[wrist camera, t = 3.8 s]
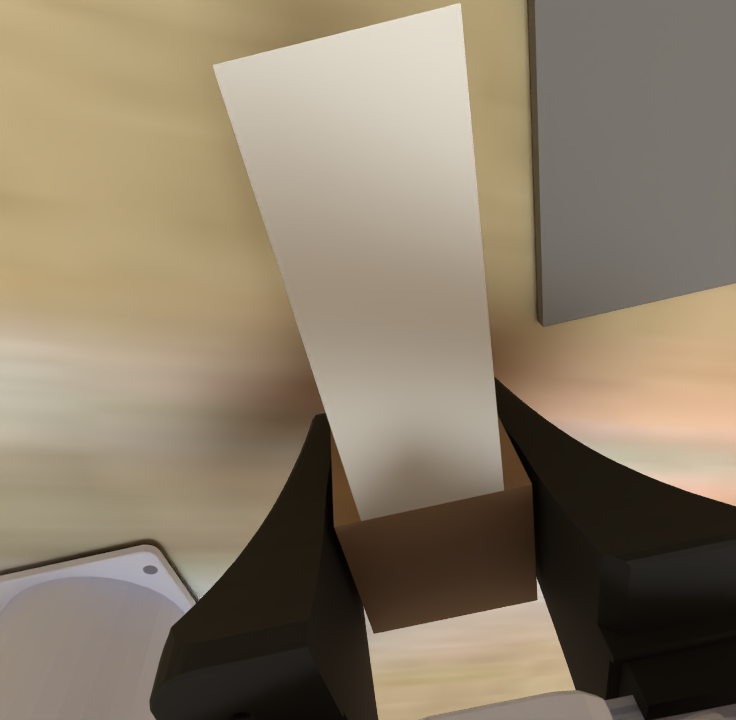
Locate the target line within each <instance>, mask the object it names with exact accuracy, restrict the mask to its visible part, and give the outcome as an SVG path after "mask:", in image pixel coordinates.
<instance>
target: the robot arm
mask: <svg viewBox="0 0 736 720" xmlns="http://www.w3.org/2000/svg"><path fill="white" fill-rule="evenodd" d="M494 382H495V393H496V405H497V415H498V417H499V419H500V421H501V423H502V425H503V427H504V429H505V431H506V433H507V435H508V437H509V439H510V441H511V443H512V445H513V447H514V449H515V451H516V453H517V455H518V457H519V459H520V461H521V463H522V465H523V467H524V469H525V471H526V473H527V475H528V477H529V479H530V481H531V483H532V494H533V516H534V538H535V559H536V577H537V580H538V582H539V585H540V588H541V591H542V593H543V596H544V599H545V602H546V605H547V607H548V610H549V613H550V616H551V619H552V621H553V624H554V627H555V630H556V633H557V636H558V639H559V642H560V644H561V647H562V650H563V653H564V656H565V659H566V662H567V665H568V668H569V671H570V674H571V677H572V680H573V683H574V686H575V689H576V690H573V691H559V692H550V693H545V694H540V695H535V696H530V697H524V698H519V699H514V700H509V701H504V702H499V703H494V704H489V705H484V706H479V707H474V708H469V709H464V710H459V711H454V712H449V713H444V714H439V715H434V716H429V717H426V718H423V719H420V720H736V506H733V505H729V504H726V503H723V502H719V501H716V500H713V499H710V498H706V497H703V496H700V495H697V494H693V493H690V492H687V491H685V490H682V489H679V488H677V487H674V486H671V485H668V484H666V483H663V482H660V481H658V480H655V479H653V478H651V477H648V476H646V475H643V474H641V473H639V472H637V471H634V470H632V469H630V468H628V467H626V466H624V465H621V464H619V463H617V462H615V461H613V460H611V459H609V458H607V457H605V456H603V455H601V454H600V453H598V452H596V451H594V450H592V449H591V448H589V447H587V446H585V445H584V444H582V443H580V442H579V441H577V440H575V439H574V438H572V437H571V436H569V435H568V434H566V433H565V432H563V431H562V430H560V429H559V428H557V427H556V426H554V425H553V424H552V423H550V422H549V421H547V420H546V419H545V418H543V417H542V416H541V415H540V414H538V413H537V412H536V411H534V410H533V409H532V408H530V407H529V406H528V405H527V404H525V403H524V402H523V401H522V400H520V399H519V398H518V397H517V396H516V395H514V394H513V393H512V392H511V391H510V390H509V389H508V388H506V387H505V386H504V385H503V384H502V383H501V382H500V381H499V380H498V379H496V378H495V377H494ZM0 720H378V715H377V708H376V701H375V693H374V686H373V678H372V671H371V664H370V656H369V648H368V640H367V632H366V624H365V616H364V607H363V603H362V600H361V598H360V595H359V592H358V590H357V587H356V584H355V582H354V579H353V576H352V574H351V571H350V568H349V566H348V563H347V560H346V558H345V555H344V552H343V550H342V547H341V544H340V542H339V539H338V536H337V534H336V531H335V528H334V514H333V487H332V461H331V434H330V424H329V421H328V418H327V415H326V413H324V414H319V415H316V416H315V417H314V418H313V420H312V423H311V426H310V429H309V432H308V435H307V437H306V440H305V443H304V445H303V447H302V450H301V452H300V455H299V457H298V459H297V461H296V463H295V466H294V468H293V470H292V472H291V474H290V476H289V478H288V480H287V482H286V484H285V486H284V488H283V490H282V492H281V493H280V495H279V497H278V499H277V501H276V503H275V504H274V506H273V508H272V509H271V511H270V513H269V514H268V516H267V517H266V519H265V520H264V522H263V524H262V525H261V527H260V528H259V530H258V531H257V532H256V534H255V535H254V536H253V538H252V539H251V541H250V542H249V543H248V545H247V546H246V548H245V549H244V550H243V552H242V553H241V554H240V555H239V557H238V558H237V559H236V560H235V562H234V563H233V564H232V565H231V566H230V567H229V569H228V570H227V571H226V572H225V573H224V574H223V576H222V577H221V578H220V579H219V580H218V581H217V582H216V583H215V584H214V586H213V587H212V588H211V589H210V590H209V591H208V592H207V593H206V594H205V595H204V596H203V597H202V598H201V599H200V600H199V601H198V602H197V603H196V602H195V601H194V599H193V598H192V596H191V595H190V593H189V592H188V591H187V589H186V588H185V586H184V585H183V583H182V582H181V580H180V579H179V578H178V576H177V575H176V573H175V572H174V570H173V569H172V567H171V566H170V565H169V563H168V562H167V560H166V559H165V557H164V556H163V554H162V553H161V552H160V550H159V549H158V548H156V547H154V546H152V545H139V546H135V547H130V548H126V549H121V550H116V551H112V552H107V553H103V554H98V555H93V556H89V557H84V558H80V559H75V560H70V561H66V562H61V563H57V564H52V565H47V566H43V567H38V568H34V569H29V570H24V571H20V572H15V573H11V574H6V575H1V576H0Z"/></svg>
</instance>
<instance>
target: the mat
mask: <svg viewBox="0 0 736 720" xmlns="http://www.w3.org/2000/svg"><path fill="white" fill-rule="evenodd" d="M528 16H529V47H530V79H531V110H532V142H533V173H534V204H535V236H536V267H537V299H538V321H539V322H540V323H541V325H542V326H543V327H545V326H549V325H554V324H558V323H563V322H567V321H571V320H576V319H580V318H585V317H589V316H593V315H598V314H602V313H607V312H611V311H615V310H620V309H624V308H629V307H633V306H637V305H642V304H646V303H651V302H655V301H659V300H664V299H668V298H673V297H677V296H681V295H686V294H690V293H694V292H699V291H703V290H708V289H712V288H716V287H721V286H725V285H730V284H734V283H736V0H528Z"/></svg>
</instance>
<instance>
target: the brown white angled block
mask: <svg viewBox="0 0 736 720" xmlns="http://www.w3.org/2000/svg"><path fill="white" fill-rule="evenodd" d="M212 66H213V69H214V72H215V75H216V78H217V81H218V84H219V87H220V90H221V93H222V96H223V99H224V102H225V106H226V109H227V112H228V115H229V118H230V121H231V124H232V127H233V130H234V133H235V136H236V139H237V142H238V145H239V148H240V152H241V155H242V158H243V161H244V164H245V167H246V170H247V173H248V176H249V179H250V182H251V185H252V188H253V191H254V194H255V197H256V201H257V204H258V207H259V210H260V213H261V216H262V219H263V222H264V225H265V228H266V231H267V234H268V237H269V240H270V243H271V246H272V250H273V253H274V256H275V259H276V262H277V265H278V268H279V271H280V274H281V277H282V280H283V283H284V286H285V289H286V292H287V295H288V299H289V302H290V305H291V308H292V311H293V314H294V317H295V320H296V323H297V326H298V329H299V332H300V335H301V338H302V341H303V344H304V348H305V351H306V354H307V357H308V360H309V363H310V366H311V369H312V372H313V375H314V378H315V381H316V384H317V387H318V390H319V394H320V397H321V400H322V403H323V406H324V409H325V412H326V415H327V418H328V421H329V424H330V434H331V461H332V487H333V514H334V528H335V531H336V534H337V536H338V539H339V542H340V544H341V547H342V550H343V552H344V555H345V558H346V560H347V563H348V566H349V568H350V571H351V574H352V576H353V579H354V582H355V584H356V587H357V590H358V592H359V595H360V598H361V600H362V603H363V606H364V608H365V611H366V614H367V616H368V619H369V622H370V625H371V627H372V630H373V633H374V634H375V633H380V632H385V631H389V630H394V629H399V628H404V627H409V626H414V625H419V624H423V623H428V622H433V621H438V620H443V619H448V618H453V617H458V616H462V615H467V614H472V613H477V612H482V611H487V610H492V609H496V608H501V607H506V606H511V605H516V604H521V603H526V602H530V601H535V600H537V581H536V559H535V538H534V516H533V494H532V483H531V481H530V479H529V477H528V475H527V473H526V471H525V469H524V467H523V465H522V463H521V461H520V459H519V457H518V455H517V453H516V451H515V449H514V447H513V445H512V443H511V441H510V439H509V437H508V435H507V433H506V431H505V429H504V427H503V425H502V423H501V421H500V419H499V417H498V415H497V405H496V393H495V382H494V371H493V360H492V349H491V338H490V326H489V315H488V304H487V293H486V282H485V271H484V260H483V248H482V237H481V226H480V215H479V204H478V193H477V181H476V170H475V159H474V148H473V137H472V126H471V114H470V103H469V92H468V81H467V70H466V59H465V48H464V36H463V25H462V14H461V3H459V4H455V5H451V6H447V7H443V8H439V9H435V10H431V11H427V12H423V13H419V14H415V15H411V16H407V17H403V18H399V19H395V20H391V21H387V22H383V23H379V24H375V25H371V26H367V27H363V28H359V29H355V30H351V31H347V32H343V33H339V34H335V35H331V36H327V37H323V38H319V39H315V40H311V41H307V42H303V43H299V44H295V45H291V46H287V47H283V48H279V49H275V50H271V51H267V52H263V53H259V54H255V55H251V56H247V57H243V58H239V59H235V60H231V61H227V62H223V63H219V64H215V65H212Z"/></svg>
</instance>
